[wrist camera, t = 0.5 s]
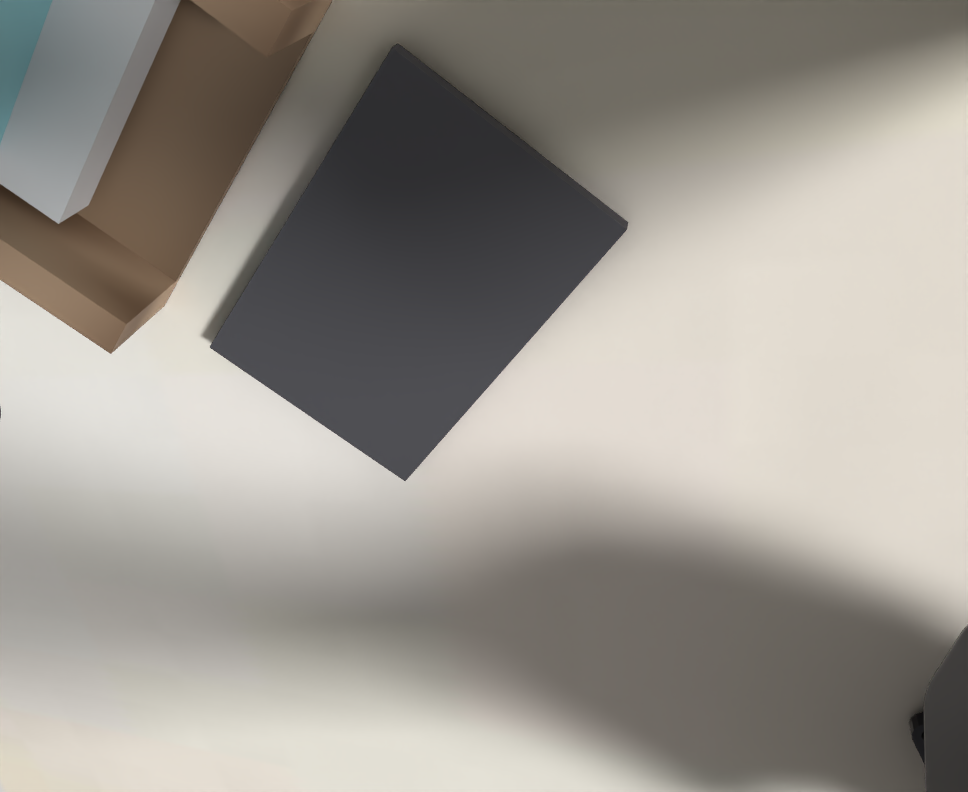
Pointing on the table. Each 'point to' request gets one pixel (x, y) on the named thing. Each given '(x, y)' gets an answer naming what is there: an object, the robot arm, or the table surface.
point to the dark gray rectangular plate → (413, 267)
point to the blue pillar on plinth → (70, 91)
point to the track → (160, 169)
